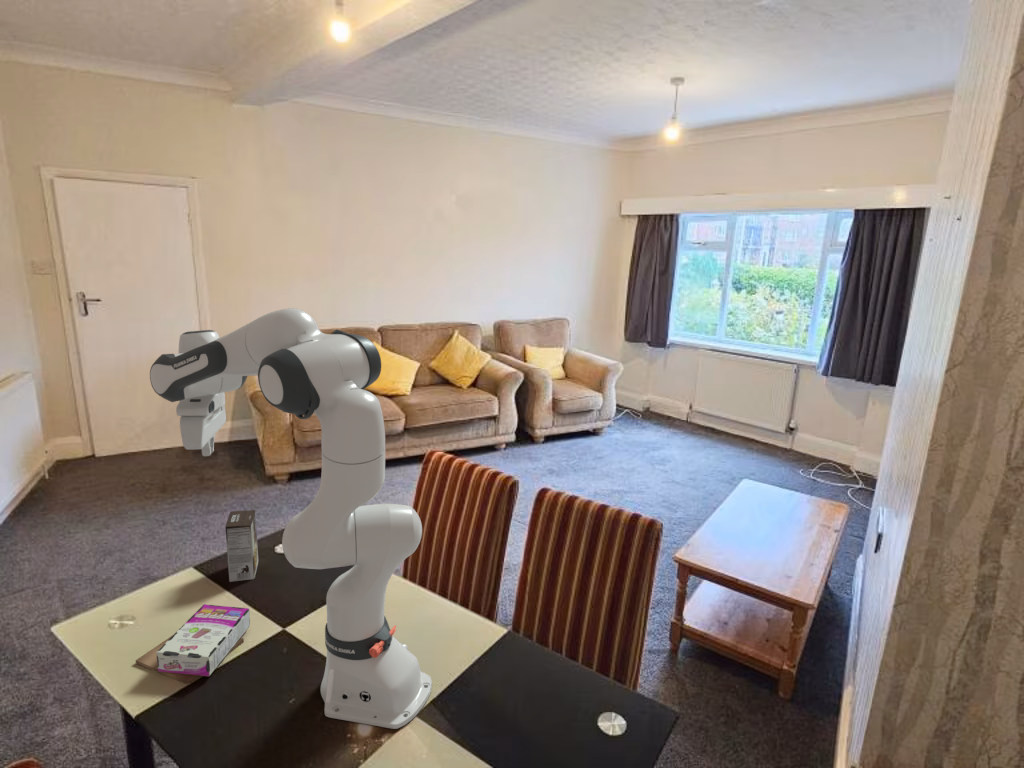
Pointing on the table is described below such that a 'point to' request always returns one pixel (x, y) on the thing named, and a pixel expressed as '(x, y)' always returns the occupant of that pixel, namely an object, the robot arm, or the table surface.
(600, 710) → the table surface
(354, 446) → the robot arm
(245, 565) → the coffee box
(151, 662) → the board
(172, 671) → the candy bar box
